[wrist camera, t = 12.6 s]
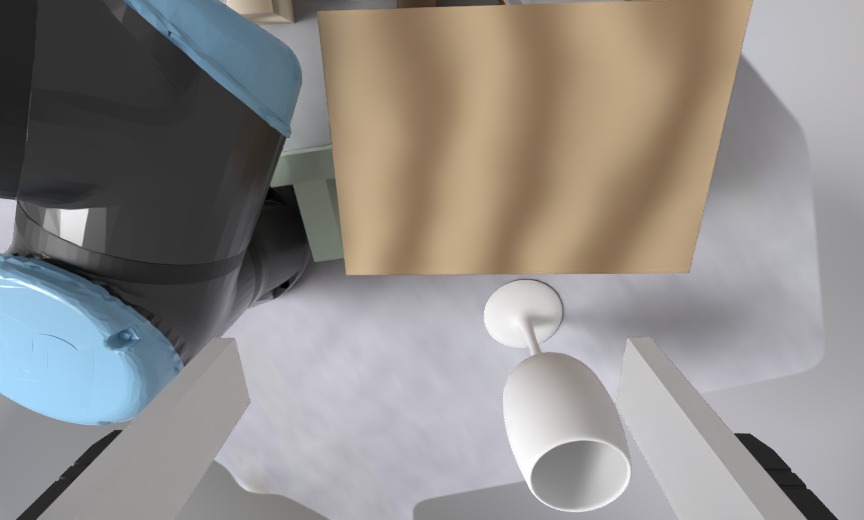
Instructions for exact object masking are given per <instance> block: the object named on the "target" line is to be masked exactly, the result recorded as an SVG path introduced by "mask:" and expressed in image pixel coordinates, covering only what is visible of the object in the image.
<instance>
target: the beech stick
mask: <svg viewBox="0 0 864 520" xmlns="http://www.w3.org/2000/svg"><path fill="white" fill-rule="evenodd" d="M226 4H227V6H228V7H230V8H231V9H233V10H235V11H236V12H238V13H239V14H241V15H242V16H244V17H245V18H247V19H248V20H250V21H252V22H253V23H255V24H256V25H264V24H289V23H295V19H294V11H293V4H292V0H226Z"/></svg>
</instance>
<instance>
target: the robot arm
mask: <svg viewBox="0 0 864 520" xmlns="http://www.w3.org/2000/svg"><path fill="white" fill-rule="evenodd" d="M301 84H302V71H301V66H300V63H299V61H298V59H297V57H296V55H295V54H294V52H293V51H292V50H291V49H290V48H289V47H288V46H287V45H286V44H285V43H283V42H282V41H281V40H279V39H278V38H276V37H275V36H273V35H272V34H270V33H268V32H267V31H265V30H264V29H262V28H261V27H259V26H258V25H256V24H255V23H253V22H252V21H250V20H248V19H247V18H245V17H244V16H242V15H241V14H239V13H238V12H236V11H235V10H233V9H231V8H230V7H228V6H227V5H225V4H224V3H222V2H221V1H219V0H0V198H3V199H12V200H17V207H16V216H15V223H14V233H13V241H12V244H11V246H10V247H9V249H8V250H7V251H6V252H5V253H0V393H2V394H3V395H5V396H6V397H8V398H10V399H11V400H13V401H15V402H17V403H19V404H21V405H22V406H24V407H27V408H29V409H31V410H33V411H35V412H38V413H40V414H43V415H46V416H49V417H52V418H55V419H58V420H62V421H66V422H72V423H77V424H85V425H105V424H110V423H113V422H123V421H128V420H130V419H133V418H135V419H134V420H133V421H132V422H131V423H130V424H129V425H128V426H127V427H126V428H125V429H124V430H114V431H113V432H111V433H110V434H108V435H107V436H105V437H104V438H102V439H101V440H99V441H98V442H96V443H95V444H93V445H92V446H91V447H90V448H89V449H88V450H87V451H86V452H85V453H84V454H83V455H82V456H81V457H80V458H79V459H78V460H77V461H76V462H75V463H74V466H70V467H69V468H68V469H67V470H66V471H65V472H64V473H63V474H62V475H61V476H60V477H59V480H58V481H55V482H54V483H53V484H52V485H51V486H50V487H49V488H48V489H47V490H46V491H45V492H44V493H43V494H42V495H41V496H40V497H39V498H38V499H37V500H36V501H35V502H34V503H33V504H32V505H31V506H30V507H29V508H28V509H27V510H26V511H25V512H24V513H22V514H21V515H20V517H18V518H17V519H16V520H175V519H176V517H177V516H178V514H179V513H180V511H181V509H182V508H183V506H184V505H185V503H186V502H187V500H188V499H189V497H190V496H191V494H192V492H193V491H194V489H195V488H196V486H197V485H198V483H199V481H200V480H201V478H202V477H203V475H204V474H205V472H206V471H207V469H208V468H209V466H210V464H211V463H212V461H213V460H214V458H215V457H216V455H217V454H218V452H219V450H220V449H221V447H222V446H223V444H224V443H225V441H226V440H227V438H228V436H229V435H230V433H231V432H232V430H233V429H234V427H235V426H236V424H237V423H238V421H239V419H240V418H241V416H242V415H243V413H244V412H245V410H246V409H247V407H248V405H249V404H250V399H249V394H248V390H247V386H246V382H245V378H244V373H243V369H242V365H241V361H240V357H239V352H238V348H237V344H236V340H235V338H220V337H221V336H222V335H223V334H224V333H225V332H226V331H227V330H228V329H229V328H230V327H231V326H232V324H233V323H234V322H235V321H236V320H237V319H238V318H239V317H240V316H241V315H242V314H243V313H244V311H245V310H246V309H249V308H251V307H254V306H257V305H260V304H263V303H265V302H268V301H271V300H273V299H275V298H277V297H279V296H280V295H282V294H283V293H285V292H286V291H287V290H289V289H290V288H291V287H292V286H293V285H294V283H295V282H296V281H297V280H298V279H299V277H300V276H301V275H302V274H303V272H304V271H305V269H306V267H307V265H308V263H309V260H310V257H311V253H312V252H311V248H310V245H309V241H308V237H307V234H306V230H305V227H304V223H303V219H302V216H301V212H300V209H299V205H298V201H297V198H296V194H295V192H294V191H293V190H292V189H291V188H290V187H289V186H288V185H285V186H278V187H271V185H270V184H271V181H272V178H273V175H274V172H275V169H276V166H277V164H278V161H279V158H280V155H281V152H282V149H283V146H284V144H285V141H286V138H290V135H291V128H290V123H291V120H292V116H293V113H294V109H295V106H296V102H297V99H298V95H299V92H300V88H301ZM615 405H616V407H617V408H618V410H619V412H620V414H621V416H622V418H623V419H624V421H625V423H626V425H627V427H628V428H629V430H630V432H631V434H632V436H633V438H634V439H635V441H636V443H637V445H638V447H639V448H640V450H641V452H642V454H643V456H644V458H645V459H646V461H647V463H648V465H649V467H650V468H651V470H652V472H653V474H654V476H655V478H656V479H657V481H658V483H659V485H660V487H661V488H662V490H663V492H664V494H665V496H666V497H667V499H668V501H669V503H670V505H671V506H672V508H673V510H674V512H675V514H676V515H677V517H678V519H679V520H838V519H837V518H836V517H835V516H834V515H833V514H832V513H831V512H830V511H829V509H828V508H827V507H826V506H825V505H824V504H823V503H822V502H821V501H820V500H819V499H818V498H817V496H816V495H814V493H813V492H812V491H811V490H810V489H807V488H806V485H805V484H804V482H803V481H802V480H801V479H800V478H799V477H798V476H797V475H796V474H795V473H792V472H791V468H790V467H788V465H787V464H786V463H785V462H784V461H783V460H782V459H781V458H780V457H779V456H778V454H777V453H776V452H775V451H774V450H773V449H771V448H770V447H768V446H767V445H766V444H764V443H762V442H761V441H760V440H758V439H757V438H755V437H754V436H753V435H751V434H739V433H737V434H736V433H733V432H732V431H731V430H730V429H729V428H728V427H727V425H726V424H725V423H724V422H723V421H722V420H721V418H720V417H719V416H718V415H717V414H716V413H715V411H714V410H713V409H712V408H711V407H710V406H709V404H708V403H707V402H706V401H705V400H704V399H703V397H702V396H701V395H700V394H699V393H698V391H697V390H696V389H695V388H694V387H693V386H692V384H691V383H690V382H689V381H688V380H687V379H686V377H685V376H684V375H683V374H682V373H681V372H680V370H679V369H678V368H677V367H676V366H675V365H674V363H673V362H672V361H671V360H670V359H669V358H668V356H667V355H666V354H665V353H664V352H663V350H662V349H661V348H660V347H659V346H658V345H657V343H656V342H655V341H654V340H653V339H652V338H651V337H627V341H626V347H625V352H624V358H623V363H622V369H621V374H620V380H619V385H618V391H617V396H616V402H615Z"/></svg>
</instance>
